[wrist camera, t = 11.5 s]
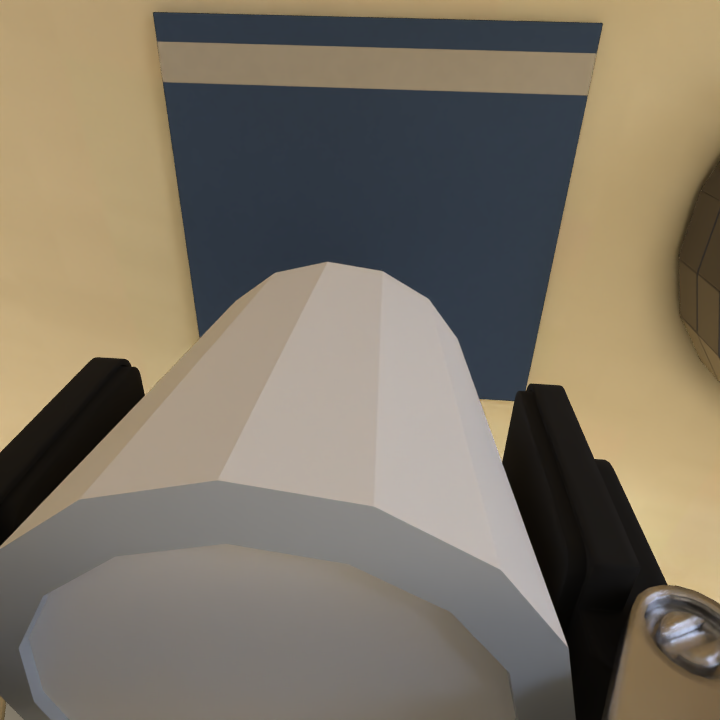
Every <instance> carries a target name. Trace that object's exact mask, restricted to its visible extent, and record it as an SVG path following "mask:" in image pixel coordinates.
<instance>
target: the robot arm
mask: <svg viewBox="0 0 720 720" xmlns="http://www.w3.org/2000/svg"><path fill="white" fill-rule="evenodd" d="M144 396H145V394H144V389H143V385H142V380H141V375H140V372H139V370H138V369H137V368H136V367H131V364H130V363H129V361H128V360H126V359H117V358H100V357H97V358H93V359H92V360H91V361H90V362H89V363H88V364H87V365H86V366H85V367H84V368H83V369H82V370H81V371H80V372H79V373H78V374H77V375H76V376H75V377H74V378H73V379H72V380H71V381H70V382H69V383H68V384H67V385H66V386H65V387H64V388H63V389H62V390H61V391H60V392H59V393H58V394H57V395H56V396H55V397H54V398H53V399H52V400H51V401H50V402H49V403H48V404H47V405H46V406H45V407H44V408H43V410H42V411H41V412H40V413H39V414H38V415H37V416H36V417H35V418H34V419H33V420H32V421H31V422H30V423H29V424H28V425H27V426H26V427H25V428H24V429H23V430H22V431H21V432H20V433H19V434H18V435H17V436H16V437H15V438H14V439H13V440H12V441H11V442H10V443H9V444H8V445H7V446H6V447H5V448H4V449H3V450H2V451H1V452H0V546H1V545H2V544H3V543H4V542H5V541H6V540H7V539H8V538H9V537H10V536H11V535H12V534H13V532H14V531H15V530H16V529H17V528H18V527H19V526H20V525H21V524H22V523H23V522H24V521H25V520H26V519H27V518H28V517H29V516H30V515H31V514H32V513H33V512H34V511H35V510H36V509H37V507H38V506H39V505H40V504H41V503H42V502H43V501H44V500H45V499H46V498H47V497H48V496H49V495H50V494H51V493H52V492H53V491H54V490H55V489H56V488H57V487H58V486H59V485H60V484H61V482H62V481H63V480H64V479H65V478H66V477H67V476H68V475H69V474H70V473H71V472H72V471H73V470H74V469H75V468H76V467H77V466H78V465H79V464H80V463H81V462H82V461H83V460H84V458H85V457H86V456H87V455H88V454H89V453H90V452H91V451H92V450H93V449H94V448H95V447H96V446H97V445H98V444H99V443H100V442H101V441H102V440H103V439H104V438H105V437H106V436H107V435H108V433H109V432H110V431H111V430H112V429H113V428H114V427H115V426H116V425H117V424H118V423H119V422H120V421H121V420H122V419H123V418H124V417H125V416H126V415H127V414H128V413H129V412H130V411H131V410H132V408H133V407H134V406H135V405H136V404H137V403H138V402H139V401H140V400H141V399H142V398H143V397H144ZM502 464H503V467H504V470H505V472H506V475H507V478H508V481H509V483H510V486H511V489H512V492H513V495H514V497H515V500H516V503H517V506H518V509H519V511H520V514H521V517H522V520H523V523H524V525H525V528H526V531H527V534H528V536H529V539H530V542H531V545H532V548H533V550H534V553H535V556H536V559H537V562H538V564H539V567H540V570H541V573H542V575H543V578H544V581H545V584H546V587H547V589H548V592H549V595H550V598H551V601H552V603H553V606H554V609H555V612H556V614H557V617H558V620H559V623H560V626H561V628H562V631H563V634H564V637H565V640H566V642H567V645H568V648H569V657H570V667H571V677H572V687H573V697H574V707H575V717H576V720H720V604H719V603H717V602H716V601H714V600H712V599H710V598H708V597H706V596H705V595H703V594H701V593H699V592H696V591H693V590H690V589H687V588H683V587H680V586H671V585H667V583H666V581H665V578H664V576H663V574H662V572H661V570H660V568H659V566H658V563H657V561H656V559H655V557H654V555H653V553H652V551H651V548H650V546H649V544H648V542H647V540H646V538H645V535H644V533H643V531H642V529H641V527H640V525H639V523H638V520H637V518H636V516H635V514H634V512H633V510H632V507H631V505H630V503H629V501H628V499H627V497H626V495H625V492H624V490H623V488H622V486H621V484H620V482H619V480H618V477H617V475H616V473H615V471H614V469H613V467H612V466H611V464H610V463H609V462H608V461H606V460H601V459H594V457H593V455H592V453H591V450H590V448H589V446H588V443H587V441H586V439H585V436H584V434H583V432H582V429H581V427H580V425H579V422H578V420H577V418H576V415H575V413H574V411H573V408H572V406H571V404H570V401H569V399H568V397H567V395H566V392H565V390H564V388H563V387H562V386H560V385H545V384H529V386H528V388H527V390H526V391H518V392H517V393H516V397H515V401H514V406H513V411H512V416H511V421H510V426H509V431H508V436H507V441H506V446H505V451H504V456H503V461H502ZM5 709H6V701H5V700H4V699H3V698H2V697H1V696H0V720H4V717H5Z"/></svg>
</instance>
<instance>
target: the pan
mask: <svg viewBox="0 0 720 720" xmlns="http://www.w3.org/2000/svg"><path fill="white" fill-rule="evenodd" d="M701 190H702V191H700V193H699V196H698V199H697V202H696V205H695V208H694V211H693V214H692V217H691V220H690V223H689V226H688V229H687V233H686V236H685V239H684V242H683V245H682V248H681V251H680V254H679V298H680V315H681V319H682V322H683V324H684V326H685V328H686V330H687V333H688V335H689V337H690V339H691V341H692V343H693V346H694V348H695V350H696V352H697V354H698V357H699V359H700V360H701V361H702V363H703V364H704V365H705V366H706V368H707V369H708V370H709V371H710V372H711V373H712V374H713V375H714V377H715V378H716V379H717V380H718V381H719V382H720V162H719V163H718V165H717V166H716V168H715V169H714V171H713V172H712V174H711V175H710V177H709V178H708V180H707V181H706V183H705V184H704V186H703V187H702V189H701Z"/></svg>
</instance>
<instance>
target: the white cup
mask: <svg viewBox="0 0 720 720" xmlns="http://www.w3.org/2000/svg"><path fill="white" fill-rule="evenodd" d="M0 696H1V697H2V698H3V699H4V700H5V701H6V702H7V703H8V704H9V705H10V706H11V707H12V708H13V709H14V710H15V711H16V712H17V713H18V714H19V715H20V716H21V717H22V718H23V719H24V720H576V717H575V707H574V697H573V687H572V677H571V667H570V657H569V648H568V645H567V642H566V640H565V637H564V634H563V631H562V628H561V626H560V623H559V620H558V617H557V614H556V612H555V609H554V606H553V603H552V601H551V598H550V595H549V592H548V589H547V587H546V584H545V581H544V578H543V575H542V573H541V570H540V567H539V564H538V562H537V559H536V556H535V553H534V550H533V548H532V545H531V542H530V539H529V536H528V534H527V531H526V528H525V525H524V523H523V520H522V517H521V514H520V511H519V509H518V506H517V503H516V500H515V497H514V495H513V492H512V489H511V486H510V483H509V481H508V478H507V475H506V472H505V470H504V467H503V464H502V461H501V458H500V456H499V453H498V450H497V447H496V444H495V442H494V439H493V436H492V433H491V431H490V428H489V425H488V422H487V419H486V417H485V414H484V411H483V408H482V405H481V403H480V400H479V397H478V394H477V391H476V389H475V386H474V383H473V380H472V378H471V375H470V372H469V369H468V366H467V364H466V361H465V358H464V355H463V352H462V350H461V347H460V344H459V341H458V339H457V337H456V336H455V335H454V333H453V332H452V330H451V329H450V328H449V326H448V325H447V324H446V322H445V321H444V319H443V318H442V317H441V315H440V314H439V312H438V311H437V310H436V308H435V307H434V306H433V304H432V303H431V301H430V300H429V299H428V298H426V297H425V296H423V295H421V294H420V293H418V292H416V291H415V290H413V289H411V288H410V287H408V286H406V285H405V284H403V283H401V282H400V281H398V280H396V279H395V278H393V277H391V276H390V275H388V274H387V273H385V272H383V271H379V270H373V269H367V268H361V267H356V266H350V265H344V264H338V263H332V262H324V263H319V264H314V265H310V266H305V267H300V268H295V269H291V270H286V271H281V272H276V273H274V274H273V275H271V276H270V277H268V278H267V279H266V280H264V281H263V282H261V283H260V284H259V285H257V286H256V287H255V288H253V289H252V290H250V291H249V292H248V293H246V294H245V295H243V296H242V297H241V298H239V299H238V300H236V301H235V302H234V303H233V304H232V305H231V306H230V307H229V308H228V309H227V310H226V312H225V313H224V314H223V315H222V316H221V317H220V318H219V319H218V320H217V321H216V322H215V323H214V324H213V325H212V326H211V327H210V328H209V329H208V330H207V331H206V332H205V333H204V334H203V336H202V337H201V338H200V339H199V340H198V341H197V342H196V343H195V344H194V345H193V346H192V347H191V348H190V349H189V350H188V351H187V352H186V353H185V354H184V355H183V356H182V357H181V358H180V359H179V361H178V362H177V363H176V364H175V365H174V366H173V367H172V368H171V369H170V370H169V371H168V372H167V373H166V374H165V375H164V376H163V377H162V378H161V379H160V380H159V381H158V382H157V383H156V384H155V386H154V387H153V388H152V389H151V390H150V391H149V392H148V393H147V394H146V395H145V396H144V397H143V398H142V399H141V400H140V401H139V402H138V403H137V404H136V405H135V406H134V407H133V408H132V410H131V411H130V412H129V413H128V414H127V415H126V416H125V417H124V418H123V419H122V420H121V421H120V422H119V423H118V424H117V425H116V426H115V427H114V428H113V429H112V430H111V431H110V432H109V433H108V435H107V436H106V437H105V438H104V439H103V440H102V441H101V442H100V443H99V444H98V445H97V446H96V447H95V448H94V449H93V450H92V451H91V452H90V453H89V454H88V455H87V456H86V457H85V458H84V460H83V461H82V462H81V463H80V464H79V465H78V466H77V467H76V468H75V469H74V470H73V471H72V472H71V473H70V474H69V475H68V476H67V477H66V478H65V479H64V480H63V481H62V482H61V484H60V485H59V486H58V487H57V488H56V489H55V490H54V491H53V492H52V493H51V494H50V495H49V496H48V497H47V498H46V499H45V500H44V501H43V502H42V503H41V504H40V505H39V506H38V507H37V509H36V510H35V511H34V512H33V513H32V514H31V515H30V516H29V517H28V518H27V519H26V520H25V521H24V522H23V523H22V524H21V525H20V526H19V527H18V528H17V529H16V530H15V531H14V532H13V534H12V535H11V536H10V537H9V538H8V539H7V540H6V541H5V542H4V543H3V544H2V545H1V546H0Z"/></svg>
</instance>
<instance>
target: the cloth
mask: <svg viewBox="0 0 720 720" xmlns="http://www.w3.org/2000/svg"><path fill="white" fill-rule="evenodd" d="M153 17H154V24H155V31H156V38H157V46H158V53H159V60H160V67H161V74H162V81H163V86H164V93H165V100H166V107H167V114H168V121H169V128H170V135H171V142H172V149H173V156H174V163H175V170H176V177H177V184H178V191H179V198H180V205H181V212H182V218H183V225H184V232H185V239H186V246H187V253H188V260H189V267H190V274H191V281H192V288H193V295H194V302H195V309H196V316H197V323H198V330H199V337H200V338H201V337H202V336H203V334H204V333H205V332H206V331H207V330H208V329H209V328H210V327H211V326H212V325H213V324H214V323H215V322H216V321H217V320H218V319H219V318H220V317H221V316H222V315H223V314H224V313H225V312H226V310H227V309H228V308H229V307H230V306H231V305H232V304H233V303H234V302H235V301H236V300H238V299H239V298H241V297H242V296H243V295H245V294H246V293H248V292H249V291H250V290H252V289H253V288H255V287H256V286H257V285H259V284H260V283H261V282H263V281H264V280H266V279H267V278H268V277H270V276H271V275H273V274H274V273H276V272H281V271H286V270H291V269H295V268H300V267H305V266H310V265H314V264H319V263H324V262H332V263H338V264H344V265H350V266H356V267H361V268H367V269H373V270H379V271H383V272H385V273H387V274H388V275H390V276H391V277H393V278H395V279H396V280H398V281H400V282H401V283H403V284H405V285H406V286H408V287H410V288H411V289H413V290H415V291H416V292H418V293H420V294H421V295H423V296H425V297H426V298H428V299H429V300H430V301H431V303H432V304H433V306H434V307H435V308H436V310H437V311H438V312H439V314H440V315H441V317H442V318H443V319H444V321H445V322H446V324H447V325H448V326H449V328H450V329H451V330H452V332H453V333H454V335H455V336H456V337H457V339H458V341H459V344H460V347H461V350H462V352H463V355H464V358H465V361H466V364H467V366H468V369H469V372H470V375H471V378H472V380H473V383H474V386H475V389H476V391H477V394H478V397H479V399H489V400H505V401H515V397H516V393H517V392H518V391H526V386H527V381H528V376H529V372H530V367H531V362H532V358H533V353H534V348H535V343H536V339H537V334H538V329H539V324H540V320H541V315H542V310H543V305H544V301H545V296H546V291H547V286H548V282H549V277H550V272H551V267H552V263H553V258H554V253H555V248H556V244H557V239H558V234H559V229H560V225H561V220H562V215H563V210H564V206H565V201H566V196H567V191H568V187H569V182H570V177H571V172H572V168H573V163H574V158H575V154H576V149H577V144H578V139H579V135H580V130H581V125H582V120H583V116H584V111H585V106H586V101H587V97H588V93H589V88H590V83H591V78H592V74H593V69H594V64H595V59H596V54H597V49H598V44H599V40H600V35H601V30H602V25H603V23H580V22H539V21H498V20H456V19H415V18H374V17H333V16H292V15H251V14H209V13H168V12H153Z"/></svg>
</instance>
